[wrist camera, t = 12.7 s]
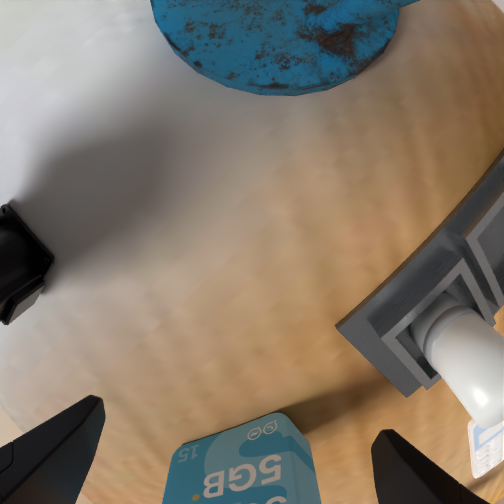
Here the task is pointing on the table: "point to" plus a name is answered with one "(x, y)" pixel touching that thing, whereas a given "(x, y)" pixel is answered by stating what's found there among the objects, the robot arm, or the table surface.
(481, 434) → the calculator
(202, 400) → the table surface
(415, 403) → the table surface
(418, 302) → the panel
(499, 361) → the plug
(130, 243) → the table surface
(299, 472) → the data package
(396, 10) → the desk lamp
